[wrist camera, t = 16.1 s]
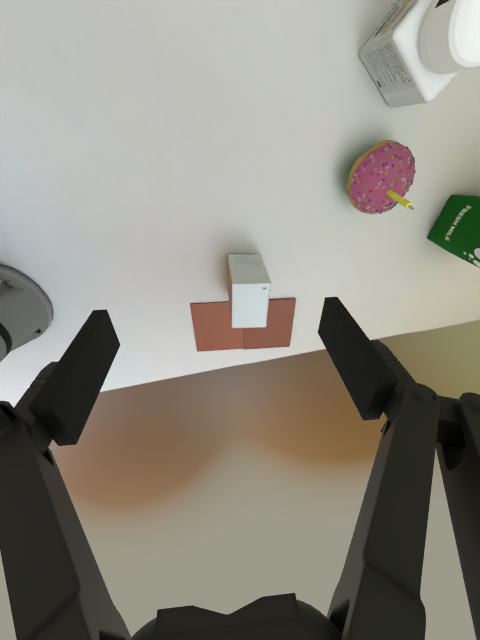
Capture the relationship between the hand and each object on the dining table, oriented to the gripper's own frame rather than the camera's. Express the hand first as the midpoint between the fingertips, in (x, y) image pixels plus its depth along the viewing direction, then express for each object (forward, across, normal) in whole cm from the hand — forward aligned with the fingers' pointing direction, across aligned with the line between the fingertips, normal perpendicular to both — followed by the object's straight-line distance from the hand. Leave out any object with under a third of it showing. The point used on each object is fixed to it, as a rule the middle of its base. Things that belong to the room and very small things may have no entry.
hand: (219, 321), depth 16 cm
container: (+29, +23, +17) cm, 41 cm away
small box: (+29, +4, -11) cm, 31 cm away
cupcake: (+29, +22, +4) cm, 37 cm away
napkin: (+29, +4, -22) cm, 37 cm away
